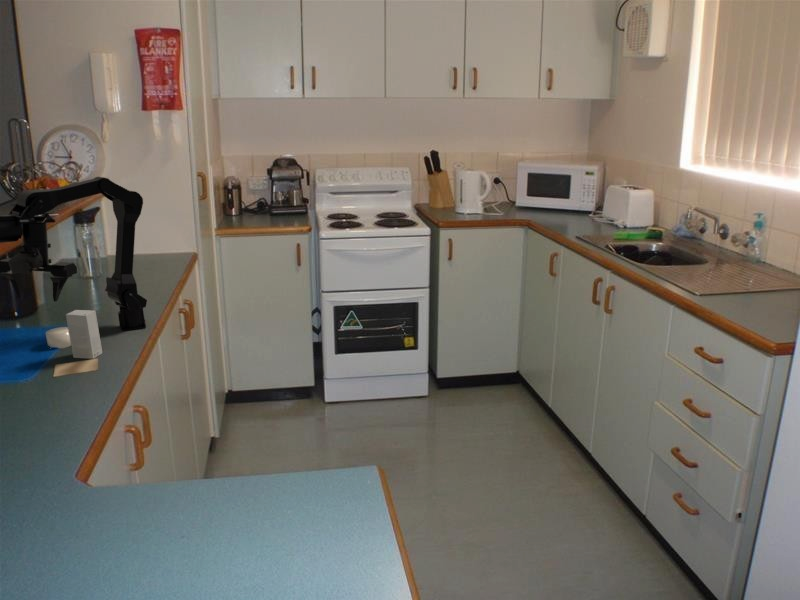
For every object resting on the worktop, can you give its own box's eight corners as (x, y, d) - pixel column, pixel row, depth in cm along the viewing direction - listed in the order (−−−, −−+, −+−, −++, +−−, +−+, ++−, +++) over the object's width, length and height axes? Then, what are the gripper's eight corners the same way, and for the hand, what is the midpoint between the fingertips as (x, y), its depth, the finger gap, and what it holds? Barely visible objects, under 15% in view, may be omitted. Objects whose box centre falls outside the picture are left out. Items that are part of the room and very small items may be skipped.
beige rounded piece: (74, 339, 195) (72, 325, 193) (73, 347, 189) (71, 333, 188) (49, 342, 192) (46, 329, 191) (47, 350, 187) (44, 336, 185)
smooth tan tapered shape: (98, 360, 180) (98, 358, 180) (98, 372, 173) (97, 369, 173) (55, 366, 177) (55, 364, 177) (53, 378, 170) (53, 376, 170)
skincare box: (103, 353, 184) (96, 310, 180) (93, 359, 180) (86, 315, 176) (82, 352, 185) (75, 309, 181) (72, 358, 181) (64, 314, 177)
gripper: (-21, 242, 171) (-17, 304, 174) (53, 247, 170) (56, 309, 173) (7, 236, 182) (10, 295, 185) (76, 241, 181) (79, 300, 184)
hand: (38, 300), depth 182 cm, fingers open, 9 cm apart
